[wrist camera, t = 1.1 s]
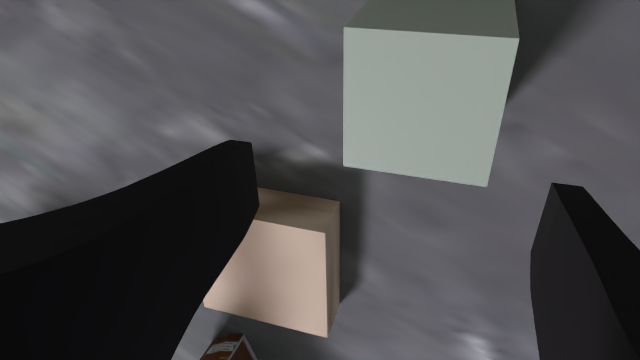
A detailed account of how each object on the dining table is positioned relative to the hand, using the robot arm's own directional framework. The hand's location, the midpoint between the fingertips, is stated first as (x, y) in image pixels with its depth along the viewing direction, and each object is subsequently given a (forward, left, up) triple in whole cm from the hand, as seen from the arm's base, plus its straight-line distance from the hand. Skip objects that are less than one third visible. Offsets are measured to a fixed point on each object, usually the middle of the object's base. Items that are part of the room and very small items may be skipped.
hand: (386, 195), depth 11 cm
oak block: (+8, +12, -10) cm, 17 cm away
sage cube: (0, 0, -10) cm, 10 cm away
